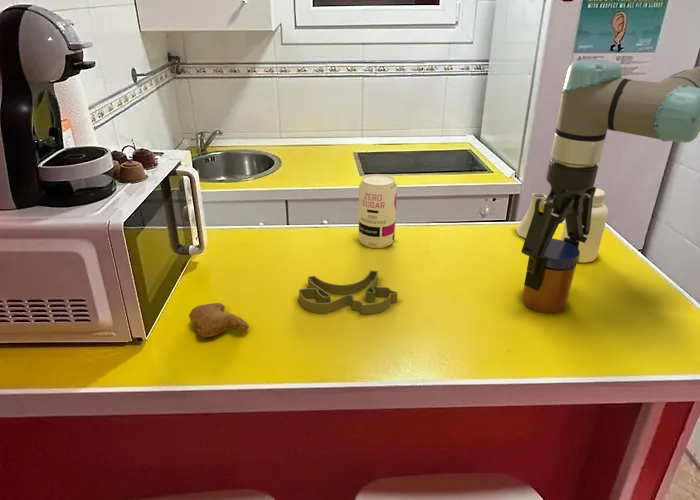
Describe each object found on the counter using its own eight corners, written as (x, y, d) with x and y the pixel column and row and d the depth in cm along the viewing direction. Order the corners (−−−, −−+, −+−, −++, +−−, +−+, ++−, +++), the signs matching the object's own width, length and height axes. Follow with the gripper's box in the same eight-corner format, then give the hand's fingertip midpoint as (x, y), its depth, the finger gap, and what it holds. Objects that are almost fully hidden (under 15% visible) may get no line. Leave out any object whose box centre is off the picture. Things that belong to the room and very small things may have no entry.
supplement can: (389, 232, 124) (391, 172, 117) (397, 248, 116) (401, 185, 109) (355, 234, 122) (356, 174, 115) (362, 250, 115) (363, 187, 108)
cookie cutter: (386, 277, 105) (386, 269, 104) (401, 311, 94) (401, 301, 93) (297, 285, 102) (296, 276, 101) (302, 320, 92) (302, 311, 91)
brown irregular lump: (249, 337, 87) (248, 319, 86) (188, 344, 85) (185, 326, 84) (248, 305, 96) (246, 288, 94) (192, 310, 94) (189, 293, 92)
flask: (510, 229, 126) (517, 190, 121) (537, 226, 127) (545, 188, 122) (525, 242, 119) (532, 202, 115) (554, 239, 121) (562, 199, 116)
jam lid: (547, 243, 98) (549, 234, 97) (587, 260, 92) (589, 251, 91) (519, 255, 94) (521, 245, 93) (559, 274, 88) (561, 264, 87)
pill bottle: (550, 254, 114) (564, 190, 107) (568, 243, 119) (582, 181, 112) (586, 267, 109) (602, 201, 102) (602, 255, 114) (619, 191, 107)
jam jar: (572, 314, 94) (585, 263, 89) (528, 313, 94) (538, 262, 89) (558, 290, 101) (569, 242, 96) (516, 289, 101) (525, 241, 96)
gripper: (591, 144, 93) (565, 254, 104) (512, 167, 82) (492, 288, 92) (631, 155, 88) (600, 270, 98) (553, 180, 76) (527, 307, 87)
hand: (548, 278), depth 95 cm, fingers open, 9 cm apart
